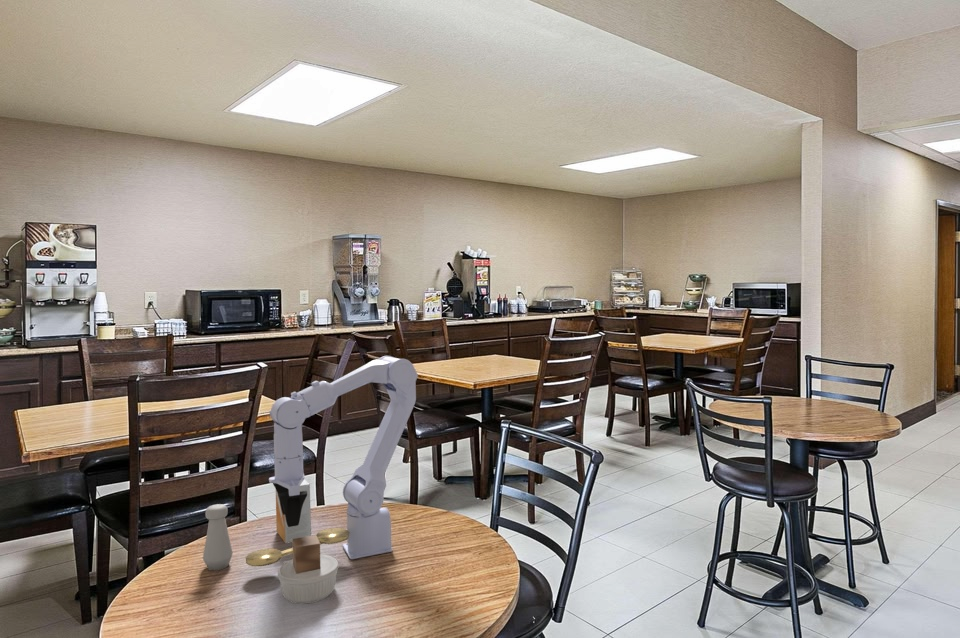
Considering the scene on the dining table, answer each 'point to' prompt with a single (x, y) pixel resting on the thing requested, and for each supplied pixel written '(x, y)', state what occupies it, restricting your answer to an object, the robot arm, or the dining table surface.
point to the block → (306, 554)
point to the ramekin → (308, 581)
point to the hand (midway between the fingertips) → (290, 519)
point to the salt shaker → (217, 539)
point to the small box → (304, 522)
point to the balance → (275, 555)
